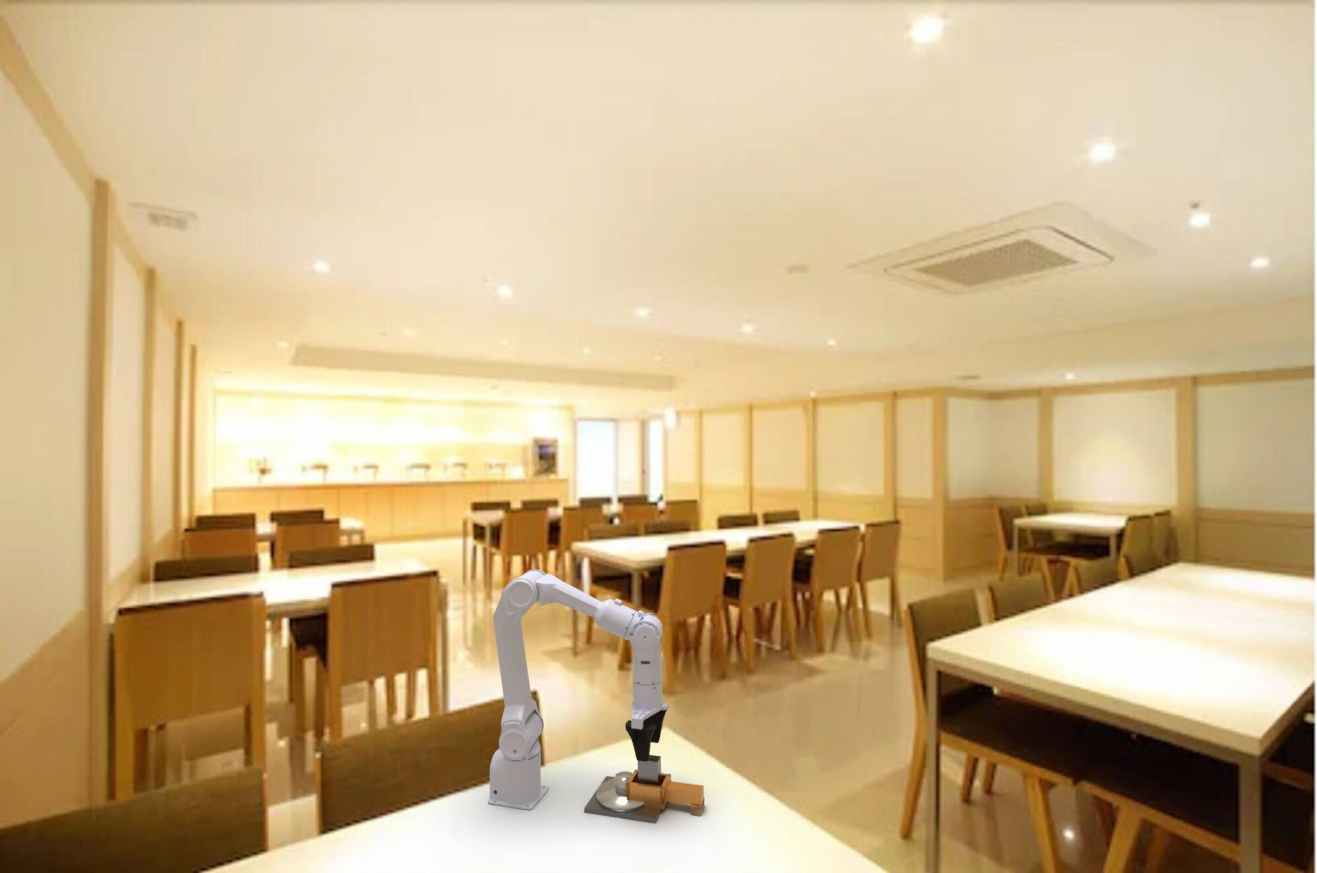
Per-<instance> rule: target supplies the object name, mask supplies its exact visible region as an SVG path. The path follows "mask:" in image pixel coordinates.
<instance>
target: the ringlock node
mask: <svg viewBox="0 0 1317 873" xmlns="http://www.w3.org/2000/svg"><path fill="white" fill-rule="evenodd" d="M704 788H705V786H704V785H702V784H694V783H688V782H687V783H686V782H679V781H673V780H672V774H671V773H664V772H661V786H655V785H648V784H641V783H638V769H634V770H633V772H631V771H628V770H627V771H626V770H625V771H619V772H618V773H616V774H615V776H609V775H606V776H605V777H604V778H603V781H602V782H601V783H600V785H599V786H598V788H597V789H596V790H595V792H594V793H593V795H592V796H591V798H590V799H589V801H588V802H587V803H586V805H585V806H584V808H583V809H584V810H583V812H584V813H587V814H593V815H598V816H599V815H600V816H605V817H606V816H607V817H612V818H619V819H627V820H630V821H631V820H632V821H638V822H644V823H645V822H646V823H652V824H656V823H657V821H658V820H659V817H660V815H661V813H662V811H663V810H665V808H666V805H667V804H668V802H670V803H677V804H686V805H690V806H689V815H691V816H696V817H697V816H698V817H701V816H702V814H703V810H704V808H705V796H704V794H705V789H704Z"/></svg>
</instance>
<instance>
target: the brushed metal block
mask: <svg viewBox="0 0 1317 873" xmlns="http://www.w3.org/2000/svg"><path fill="white" fill-rule="evenodd" d="M637 770H638V783H641V784H648V785H655V786H661V773H662V756H661V755H656V754H655V755H654V754H649V759H648V761H647V762H644V761H637Z"/></svg>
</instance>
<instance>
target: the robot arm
mask: <svg viewBox="0 0 1317 873" xmlns="http://www.w3.org/2000/svg"><path fill="white" fill-rule="evenodd" d="M500 592H501V596H500V599H499V601H498V602H497V605H496V608H495V610H494V613H493V616H492V622H493V629H494V635H495V642H496V643H495V644H496V650H497V658H498V665H499V673H500V680H501V687H502V694H503V702H504V709H503V713H502V717H501V720H500V727H501V732H500V736H499V739H498V746H499V748H498V749H497V750H495V752H494V753H493V755H492V759H491V760H490V761H491V762H490V765H489V799H488V801H487V805H488V804H489V805H494V806H499V807H507V808H513V809H519V810H525V811H526V810H527V811H532V810H533V809H534V808H535V807H536V805H537V804H538V803H539V802H540V801H541V800H542V798H543V797H544V796H545V795H546V793H547V792H548V791H550V790H549V789H550V787H549V786H547V785H542V783H541V781H542V778H541V777H542V776H541V775H542V769H541V768H542V764H541V750H542V749H541V748H542V746H541V744H540V742H539V738H540V736H541V735H542V733H543V731H544V729H545V728H544V727H545V722H544V719H543V718H544V717H543V716H542V715H541V713H540V711H539V709H538V705H537V701H536V700H534V698H533V697H532V691H531V686H530V678H529V671H528V665H527V664H528V663H527V657H526V649H525V641H524V634H523V626H522V619H523V618H524V616H525V615H526V614H527V613H528V612H529V610H530V609H531V608H532V607H533V606H534V605H535V604H537V603H538V606H539V607H540V606H546V605H550V604H556V603H557V604H559V605H563V606H565V607H567V608H570V609H572V610H574V611H577V612H579V613H582V614H584V615H587V616H589V617H592V618H593V619H594V621H595V623H596V626H597V627H598V628H600V629H602V630H604V631H606V632H608V633H611V634H613V635H615V636H617V637H620V638H621V639H624V640H626V641H629V642H630V644H631V646H632V649H633V650H632V651H633V655H632V702H631V710H632V716H631V717H630V718H631V720H630V719H628V720H627V721H626V722H625V724H624V725H625V731H626V732H627V734H628V735H629V737H630V740H631V742H632V746H633V751H634V755H635V759H636V761H637V762H638V761H644V762H647V761H648V759H649V755H651V754H650V753H651V743H652V744H659V743H660V738H661V736H662V735H661V734H662V728H663V724H664V720H665V716H666V713H667V711H668V708H669V707H670V706H669V703H668V702H664V699H663V657H662V656H663V655H662V646H661V640H662V639H661V638H662V635H663V630H664V629H663V623H662V621H661V620H660V619H659V618H658V617H657V616H656V615H655V614H653V613H650V612H648V613H646V612H644V611H643V610H638V611H637V610H635V609H633V608H631V607H630V606H629V607H628V606H626V605H624V604H622V603H623V600H621V599H619V598H616V599H614V600H613V599H611V598H609V599H606V600H602V601H600V600H599V599H597V598H595V597H593V596H591V595H589V593H588V594H587V593H585V592H584V591H582V590H580V589H578V588H577V587H574V586H573V585H571V584H569V583H567V582H565V581H563V580H561V579H559V578H558V577H556V576H555V575H553V574H551V573H545V572H544V571H542V570H540V569H530V570H529V569H528V571H526V572H525V573H523V574H522V575H520V576H519V577H516V578H513V579H512V580H511V581H510V582H508V584H507V585H506V586H505V587H504V588H503V589H501V591H500Z"/></svg>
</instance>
